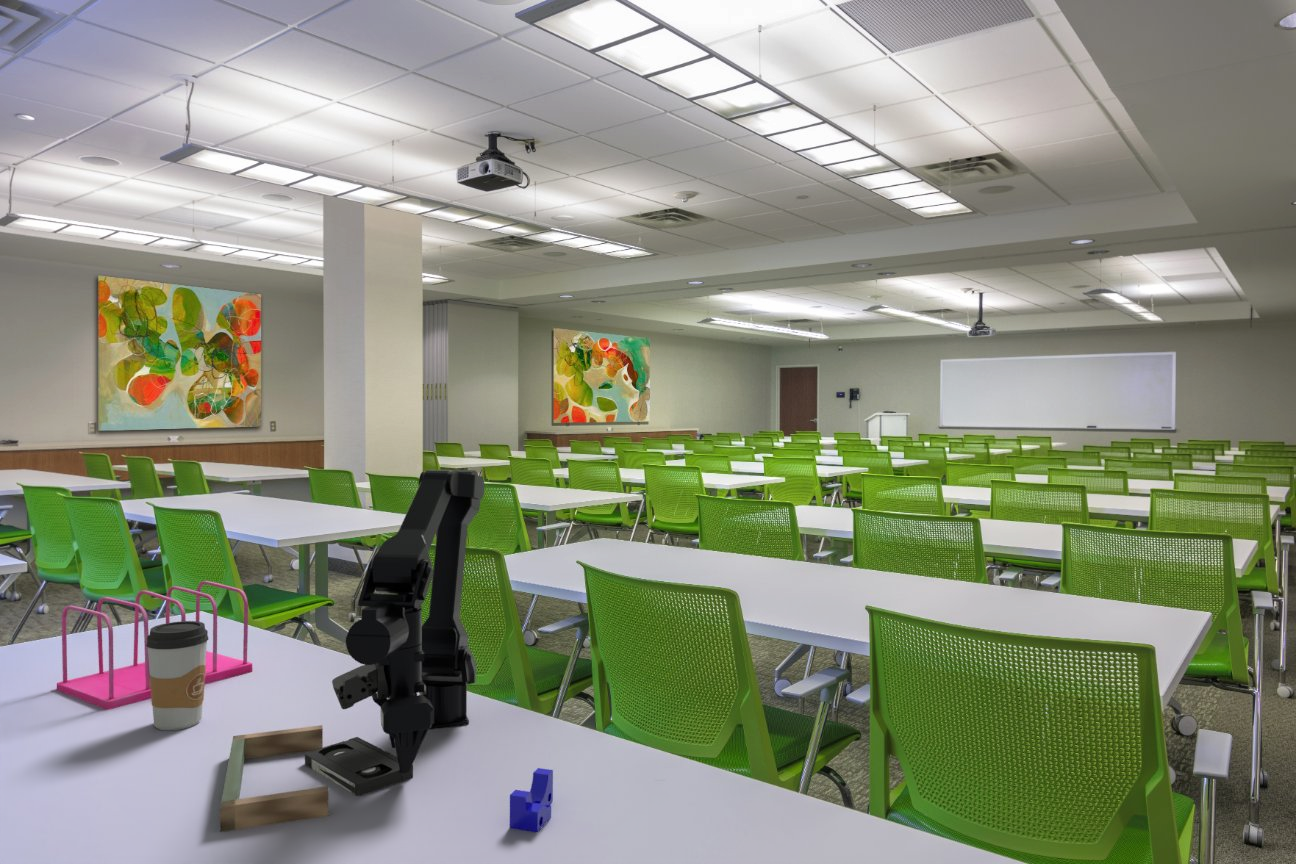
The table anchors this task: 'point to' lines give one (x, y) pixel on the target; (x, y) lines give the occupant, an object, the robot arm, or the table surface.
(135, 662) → the file sorter
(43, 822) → the table surface
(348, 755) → the vhs tape
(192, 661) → the coffee cup
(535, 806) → the cable holder
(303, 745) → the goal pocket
